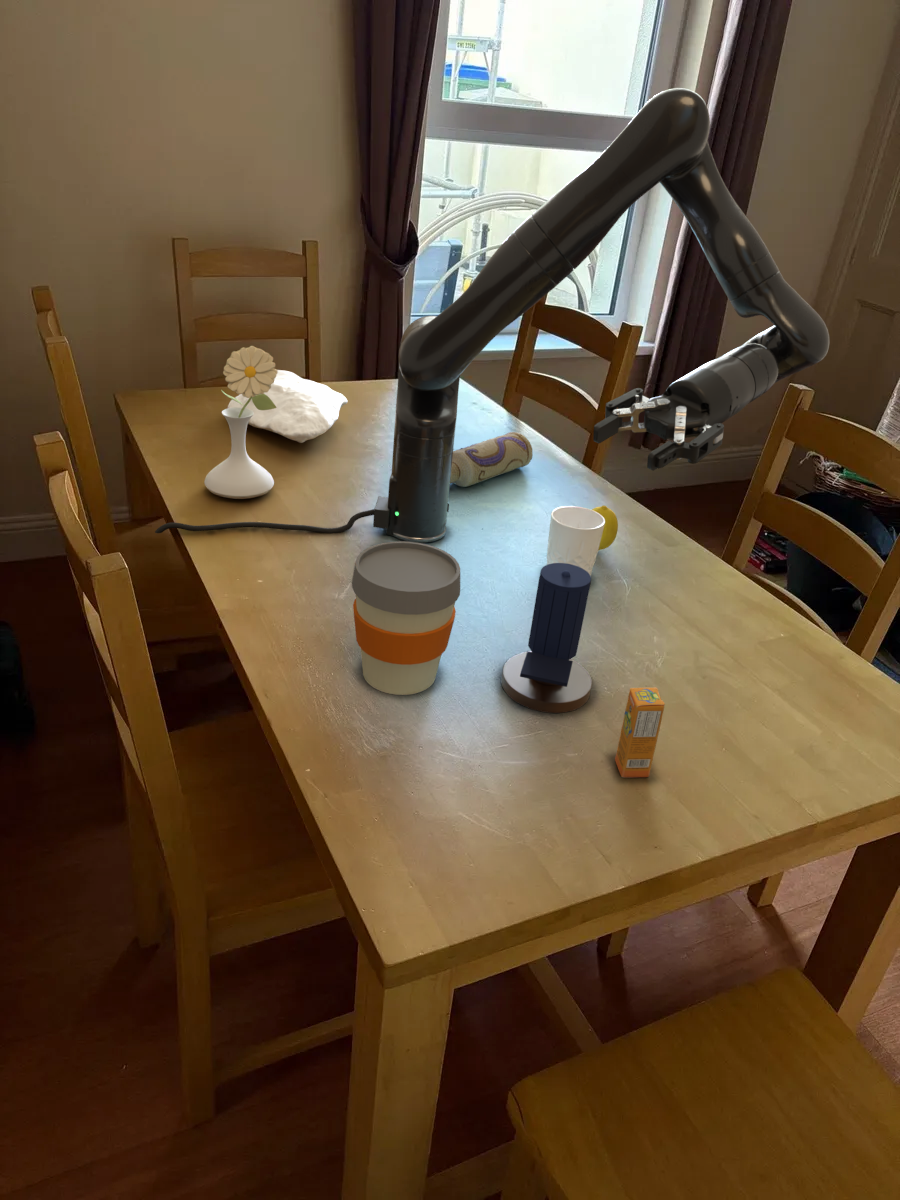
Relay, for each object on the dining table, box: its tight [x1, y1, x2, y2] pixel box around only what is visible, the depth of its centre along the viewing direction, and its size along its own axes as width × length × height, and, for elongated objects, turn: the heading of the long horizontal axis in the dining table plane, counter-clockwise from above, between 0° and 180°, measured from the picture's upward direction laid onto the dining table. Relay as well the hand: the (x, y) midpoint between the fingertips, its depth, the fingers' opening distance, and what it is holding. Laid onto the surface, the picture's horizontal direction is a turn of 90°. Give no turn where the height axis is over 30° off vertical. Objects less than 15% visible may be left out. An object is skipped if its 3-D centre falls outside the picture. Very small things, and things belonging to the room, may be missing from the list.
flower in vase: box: [203, 345, 278, 500], centre depth 144 cm, size 13×11×25 cm
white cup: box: [546, 505, 605, 577], centre depth 132 cm, size 8×8×10 cm
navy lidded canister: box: [520, 563, 592, 687], centre depth 102 cm, size 10×6×10 cm, turn 166°
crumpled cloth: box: [227, 369, 348, 444], centre depth 177 cm, size 24×35×9 cm
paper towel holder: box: [500, 650, 593, 714], centre depth 106 cm, size 11×11×15 cm
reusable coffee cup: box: [351, 540, 461, 696], centre depth 105 cm, size 12×13×15 cm
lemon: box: [591, 505, 619, 552], centre depth 141 cm, size 6×6×8 cm
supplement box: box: [614, 687, 666, 779], centre depth 95 cm, size 3×3×10 cm
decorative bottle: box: [450, 431, 533, 488], centre depth 162 cm, size 26×8×7 cm, turn 137°
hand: (622, 449), depth 105 cm, fingers open, 8 cm apart
